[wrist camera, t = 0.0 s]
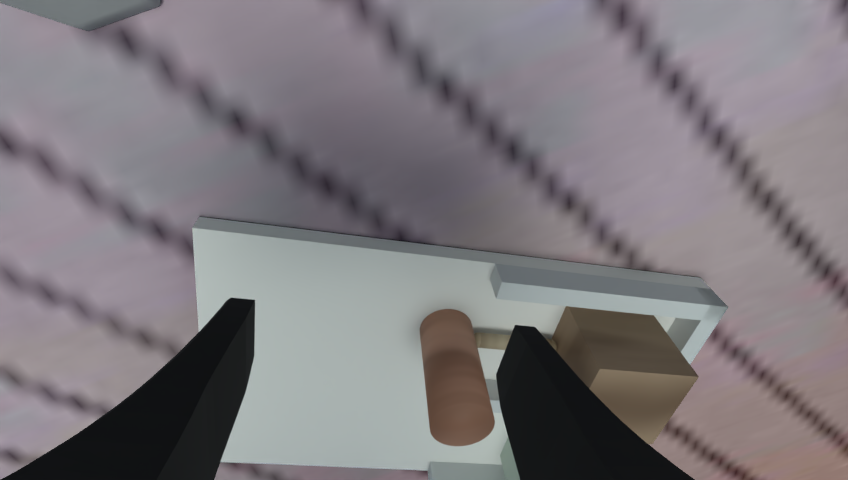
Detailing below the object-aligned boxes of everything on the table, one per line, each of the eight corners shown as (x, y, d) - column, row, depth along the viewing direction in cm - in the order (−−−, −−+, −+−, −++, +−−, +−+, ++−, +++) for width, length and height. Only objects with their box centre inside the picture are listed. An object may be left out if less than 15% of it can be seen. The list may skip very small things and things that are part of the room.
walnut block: (616, 377, 29) (666, 471, 24) (411, 360, 27) (419, 460, 22) (652, 313, 26) (717, 403, 21) (429, 289, 24) (442, 383, 19)
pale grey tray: (587, 464, 35) (601, 498, 33) (211, 447, 31) (199, 484, 29) (700, 277, 26) (728, 307, 24) (199, 216, 22) (180, 246, 20)
